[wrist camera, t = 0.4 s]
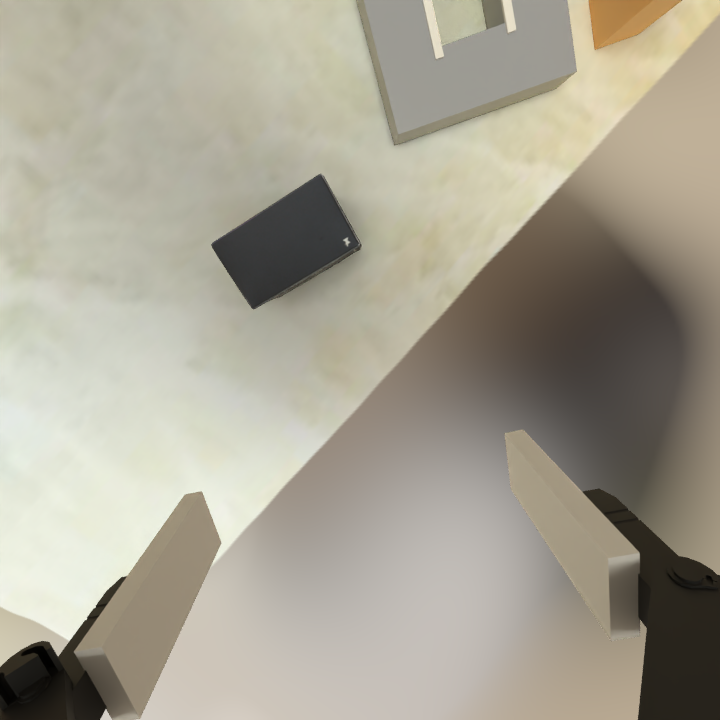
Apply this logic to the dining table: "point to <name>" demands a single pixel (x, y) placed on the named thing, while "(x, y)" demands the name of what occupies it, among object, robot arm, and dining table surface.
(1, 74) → the dining table surface
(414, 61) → the socket
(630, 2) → the plug
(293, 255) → the small box
